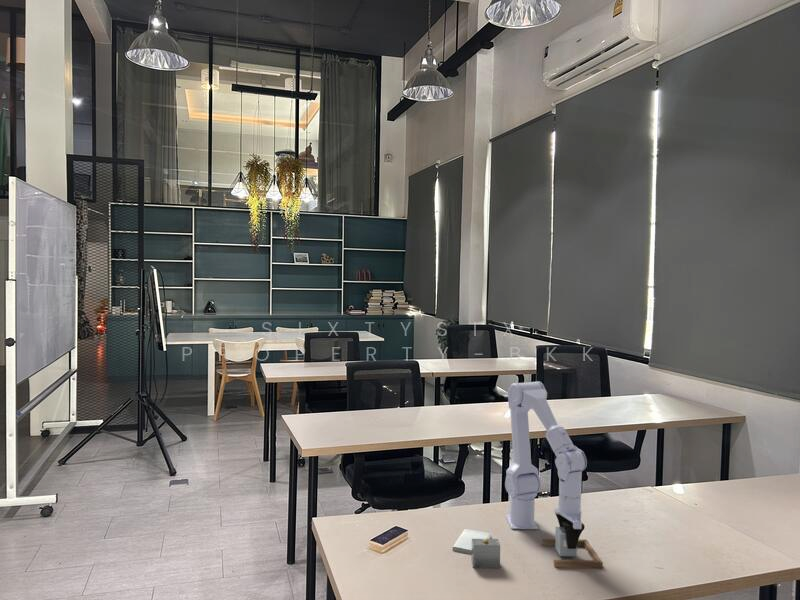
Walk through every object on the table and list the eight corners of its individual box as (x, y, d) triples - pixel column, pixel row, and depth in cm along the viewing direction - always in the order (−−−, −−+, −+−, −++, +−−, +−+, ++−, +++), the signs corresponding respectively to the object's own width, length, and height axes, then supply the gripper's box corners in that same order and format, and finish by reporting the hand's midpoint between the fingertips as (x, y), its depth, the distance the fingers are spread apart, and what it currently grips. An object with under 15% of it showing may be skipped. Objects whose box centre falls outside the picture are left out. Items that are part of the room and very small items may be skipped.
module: (555, 548, 157) (555, 525, 157) (571, 548, 157) (571, 525, 156) (560, 556, 152) (560, 533, 152) (576, 556, 152) (577, 533, 152)
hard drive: (481, 552, 154) (491, 533, 165) (452, 546, 156) (464, 528, 168) (481, 558, 154) (491, 538, 165) (452, 552, 157) (463, 533, 168)
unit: (471, 560, 151) (471, 535, 151) (497, 560, 151) (497, 536, 151) (473, 567, 147) (473, 542, 147) (499, 568, 147) (500, 543, 147)
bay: (542, 544, 161) (542, 538, 161) (586, 544, 161) (586, 539, 161) (554, 567, 148) (554, 561, 148) (602, 568, 148) (602, 562, 148)
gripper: (548, 484, 161) (547, 531, 162) (562, 504, 147) (561, 556, 147) (573, 485, 161) (571, 531, 162) (590, 505, 147) (588, 556, 147)
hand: (568, 543), depth 154 cm, fingers closed on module, 5 cm apart
